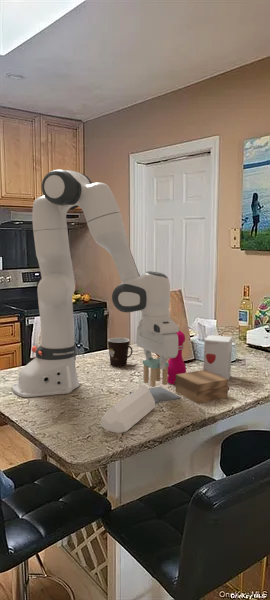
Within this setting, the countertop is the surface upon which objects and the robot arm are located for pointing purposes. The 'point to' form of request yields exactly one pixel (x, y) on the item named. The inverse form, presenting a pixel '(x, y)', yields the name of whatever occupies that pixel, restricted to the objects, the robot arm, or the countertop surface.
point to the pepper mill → (177, 361)
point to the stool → (155, 372)
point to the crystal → (128, 411)
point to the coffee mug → (118, 351)
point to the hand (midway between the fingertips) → (155, 365)
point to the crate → (201, 386)
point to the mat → (162, 395)
